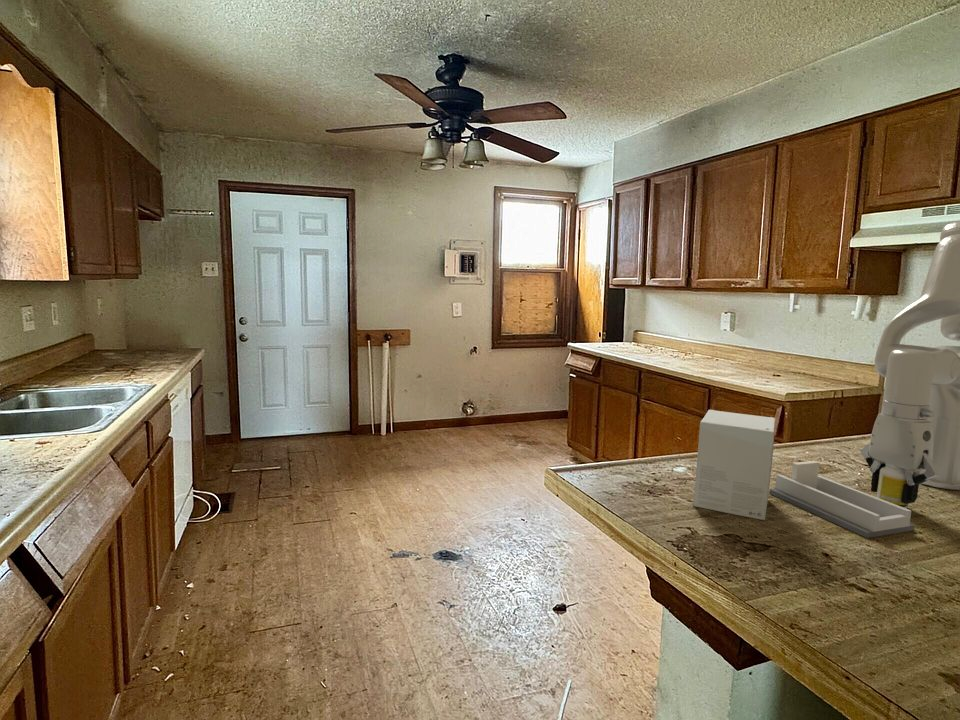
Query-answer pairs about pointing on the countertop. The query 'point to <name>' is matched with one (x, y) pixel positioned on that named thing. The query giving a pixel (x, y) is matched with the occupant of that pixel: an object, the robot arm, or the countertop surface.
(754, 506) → the supplement box
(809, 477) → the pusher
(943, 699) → the countertop surface
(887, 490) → the supplement bottle
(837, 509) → the lane
